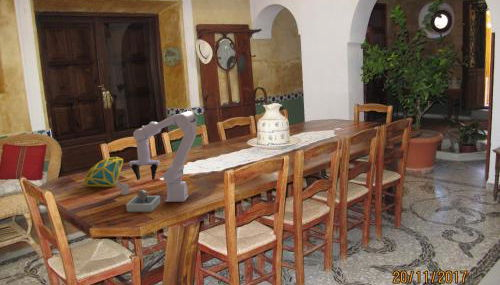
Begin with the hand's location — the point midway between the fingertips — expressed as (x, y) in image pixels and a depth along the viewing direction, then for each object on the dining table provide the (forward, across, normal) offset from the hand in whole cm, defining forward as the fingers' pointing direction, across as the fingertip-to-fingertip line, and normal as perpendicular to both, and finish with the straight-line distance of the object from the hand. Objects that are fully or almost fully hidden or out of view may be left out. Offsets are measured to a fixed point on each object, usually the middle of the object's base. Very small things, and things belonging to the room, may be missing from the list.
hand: (146, 179), depth 229 cm
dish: (+9, +3, -14) cm, 17 cm away
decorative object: (+10, -31, +20) cm, 38 cm away
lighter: (+10, -15, +5) cm, 18 cm away
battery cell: (+9, +3, -14) cm, 17 cm away
